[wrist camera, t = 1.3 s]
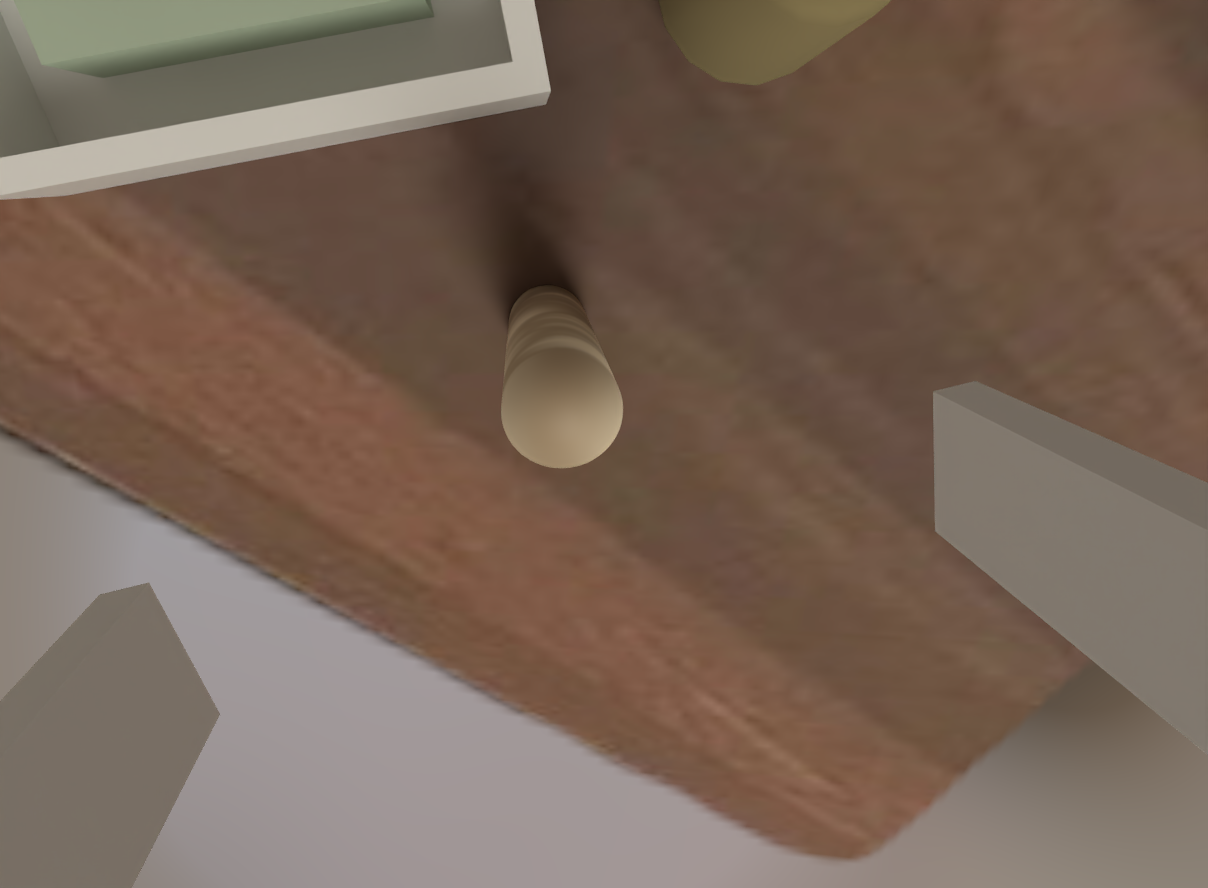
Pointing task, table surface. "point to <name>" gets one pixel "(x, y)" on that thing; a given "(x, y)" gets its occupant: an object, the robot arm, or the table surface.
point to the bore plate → (190, 28)
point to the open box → (259, 98)
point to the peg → (557, 382)
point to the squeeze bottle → (760, 33)
